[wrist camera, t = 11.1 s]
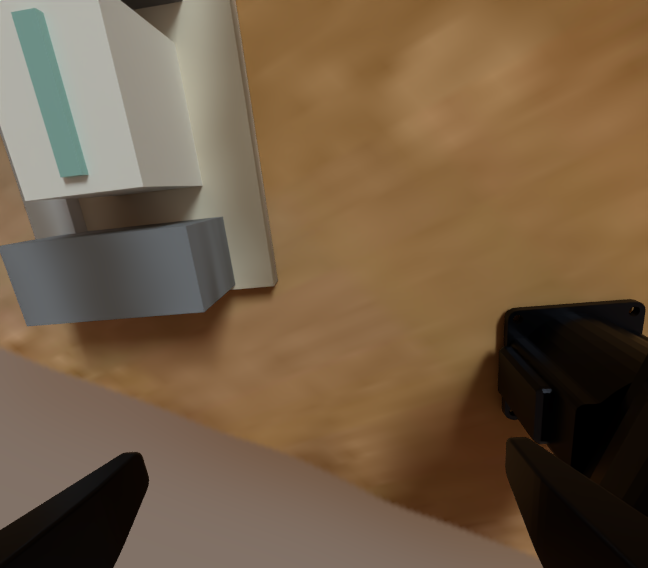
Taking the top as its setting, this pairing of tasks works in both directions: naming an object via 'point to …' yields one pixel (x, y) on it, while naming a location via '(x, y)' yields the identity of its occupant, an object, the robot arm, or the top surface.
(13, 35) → the module block
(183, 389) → the top surface
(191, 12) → the rail board
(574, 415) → the robot arm
